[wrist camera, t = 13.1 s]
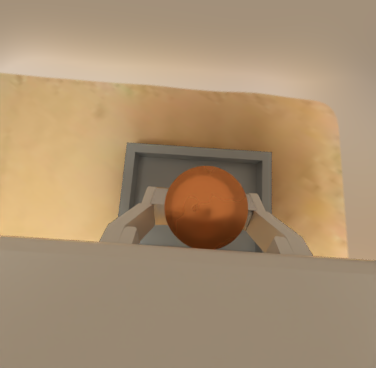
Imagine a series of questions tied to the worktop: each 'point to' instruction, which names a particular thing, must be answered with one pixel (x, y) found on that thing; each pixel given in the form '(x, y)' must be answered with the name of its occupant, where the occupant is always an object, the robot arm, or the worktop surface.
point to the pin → (206, 207)
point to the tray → (180, 162)
